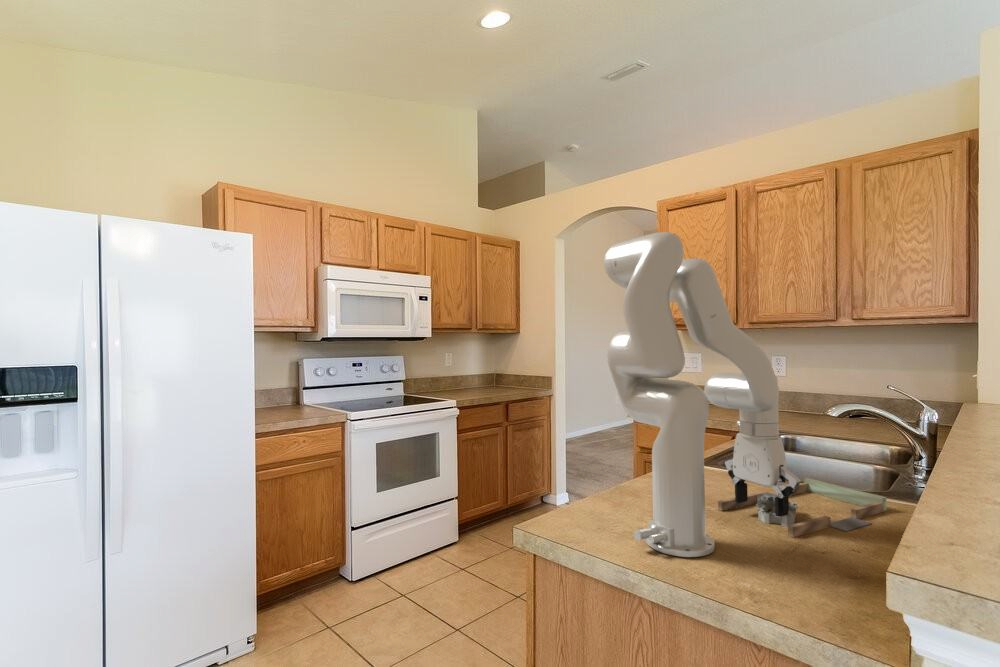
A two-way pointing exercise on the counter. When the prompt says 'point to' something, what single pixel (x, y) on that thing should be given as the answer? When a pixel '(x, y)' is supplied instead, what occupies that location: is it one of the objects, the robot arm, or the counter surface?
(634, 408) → the robot arm
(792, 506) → the egg carton
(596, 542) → the counter surface
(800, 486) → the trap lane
